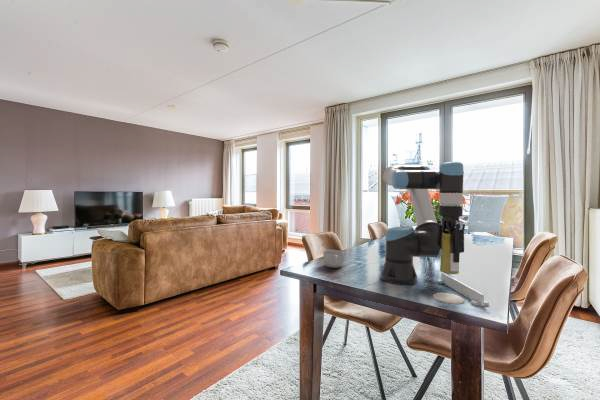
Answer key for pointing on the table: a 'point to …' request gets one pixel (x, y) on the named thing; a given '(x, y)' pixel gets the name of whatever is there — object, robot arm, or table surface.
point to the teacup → (333, 258)
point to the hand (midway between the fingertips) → (449, 268)
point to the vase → (446, 255)
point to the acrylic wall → (464, 290)
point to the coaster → (448, 298)
